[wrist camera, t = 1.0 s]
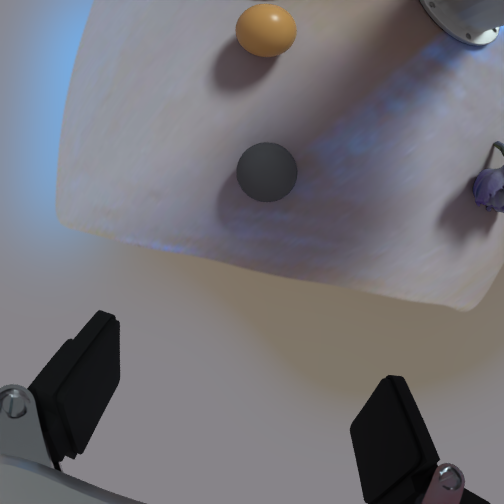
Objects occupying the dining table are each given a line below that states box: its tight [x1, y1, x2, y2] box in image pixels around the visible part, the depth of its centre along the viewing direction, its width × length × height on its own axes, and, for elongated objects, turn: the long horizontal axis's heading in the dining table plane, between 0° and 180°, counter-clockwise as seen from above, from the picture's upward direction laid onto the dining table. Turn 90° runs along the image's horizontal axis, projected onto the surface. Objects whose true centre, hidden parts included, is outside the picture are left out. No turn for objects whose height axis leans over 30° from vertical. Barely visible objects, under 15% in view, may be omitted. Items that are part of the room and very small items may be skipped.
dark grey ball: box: [237, 143, 297, 202], centre depth 28 cm, size 6×6×6 cm
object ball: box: [236, 4, 297, 57], centre depth 23 cm, size 6×6×6 cm
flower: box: [473, 141, 504, 213], centre depth 25 cm, size 9×9×10 cm
